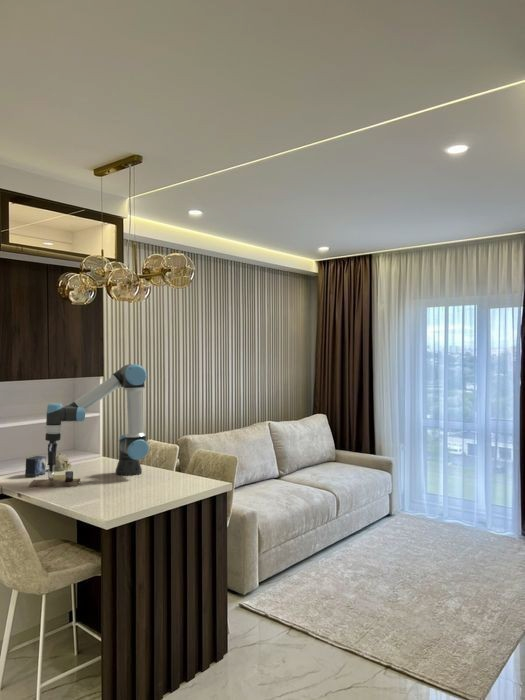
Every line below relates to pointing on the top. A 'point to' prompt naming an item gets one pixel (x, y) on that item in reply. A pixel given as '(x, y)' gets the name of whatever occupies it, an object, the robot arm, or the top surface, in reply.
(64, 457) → the ceramic model
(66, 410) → the robot arm
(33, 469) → the small box
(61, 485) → the dial board
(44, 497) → the top surface
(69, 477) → the lever
